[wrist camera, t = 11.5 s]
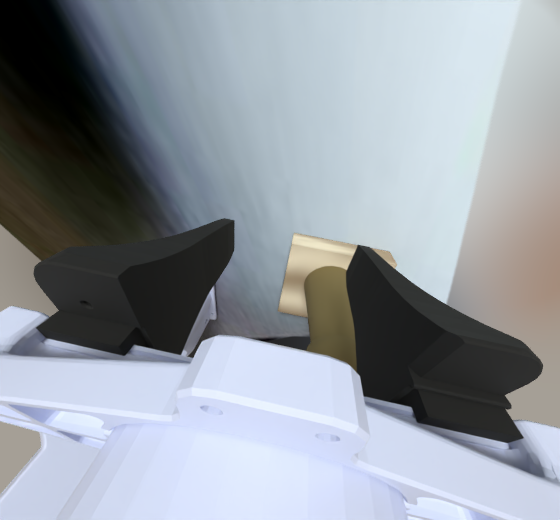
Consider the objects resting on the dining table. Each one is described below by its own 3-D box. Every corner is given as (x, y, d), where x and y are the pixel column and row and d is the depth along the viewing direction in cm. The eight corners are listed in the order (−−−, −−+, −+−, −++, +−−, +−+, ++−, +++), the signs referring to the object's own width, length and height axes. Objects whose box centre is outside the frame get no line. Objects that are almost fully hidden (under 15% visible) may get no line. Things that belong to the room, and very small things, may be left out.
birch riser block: (354, 313, 29) (357, 328, 27) (280, 298, 29) (277, 311, 27) (389, 251, 22) (397, 264, 20) (294, 232, 23) (291, 243, 21)
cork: (331, 310, 25) (340, 412, 17) (293, 288, 24) (281, 385, 15) (368, 284, 22) (404, 394, 13) (327, 256, 21) (335, 357, 12)
